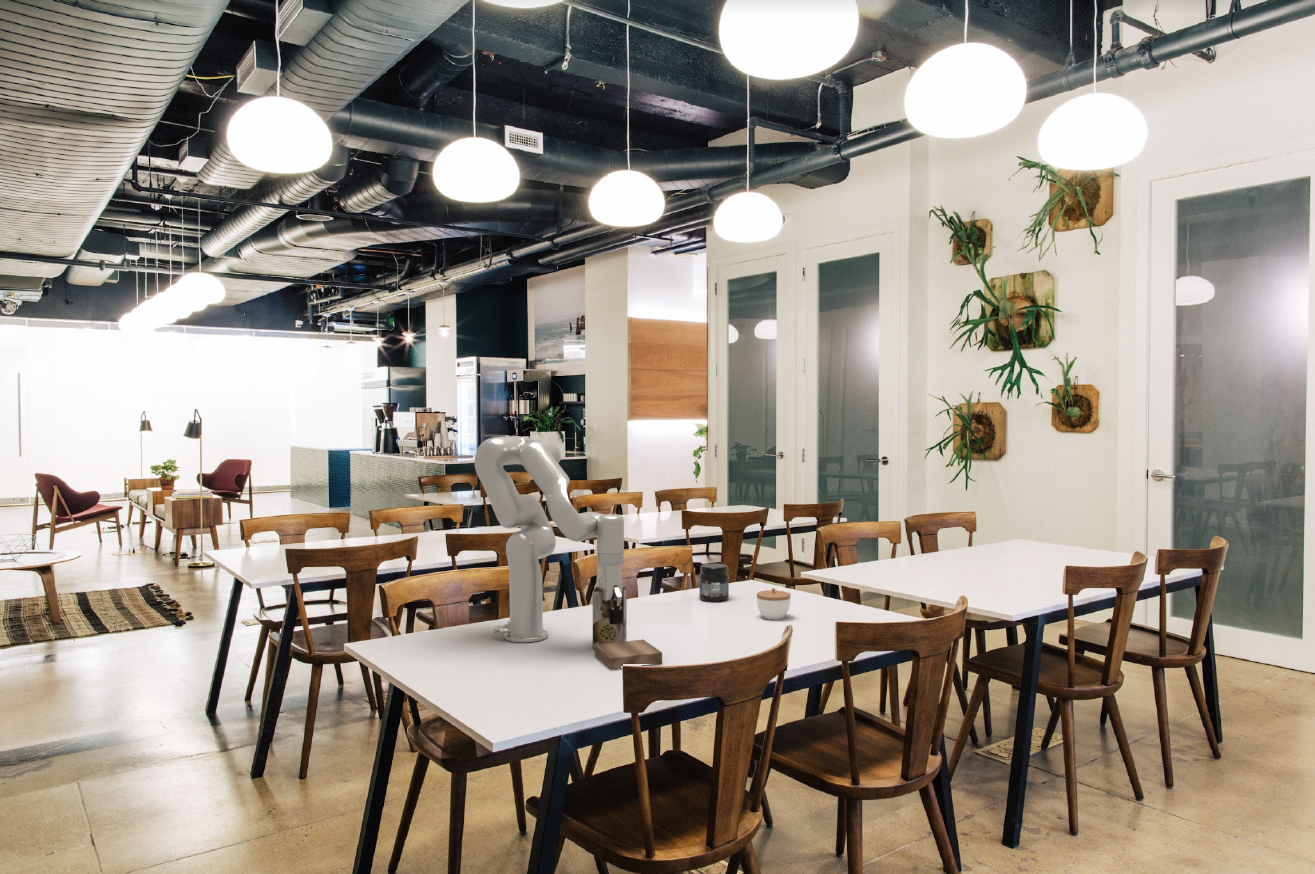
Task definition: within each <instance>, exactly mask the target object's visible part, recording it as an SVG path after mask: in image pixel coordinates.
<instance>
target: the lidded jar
mask: <svg viewBox="0 0 1315 874" xmlns="http://www.w3.org/2000/svg"><path fill="white" fill-rule="evenodd" d="M756 597H757V598H756V600H757V601H756V604H757V608H758V611H759V613H760V614H761V616H763V618H764V619H766V620H770V621H772V620H774V621H777V620H782V619H784V617H785V616H786V615H787V614H788V612H789V609H790V605H791V593H790V592H787V591H783V590H776V588H775V587H774V588H773V587H772V588H771V589H770V590H769V589H768V590H760V591H757V593H756Z"/></svg>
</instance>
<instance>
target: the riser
mask: <svg viewBox="0 0 1315 874" xmlns="http://www.w3.org/2000/svg"><path fill="white" fill-rule="evenodd" d="M594 656H595V657H596V658H597V659H598V660H599V661H600V662H602V663H603V664H604V665H605V666H606V667H607V666H608V667H607V668H608V669H610V670H611V671H614V670H613V669H615V670H622V669H621V666H623V664H657V665H662V664H663V652H662V651H661V650H660V649H658V648H657V647H656V646H654V645H652V644H651V643H649V642H648V641H647V640H645V639H637V640H635V639H633V640H627V641H625V642H615V643H606V644H597V645H595V648H594ZM618 668H620V669H618Z"/></svg>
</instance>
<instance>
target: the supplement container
mask: <svg viewBox="0 0 1315 874" xmlns="http://www.w3.org/2000/svg"><path fill="white" fill-rule="evenodd" d="M698 578H699V581H698V582H699V594H698V595H699V599H700V600H702V601H704V602H708V603H721V602H726V601H727V600H729V598H730V592H729V591H730V590H729V587H730V585H729V584H730V583H729V581H730V580H729V579H730V575H729V573H728V565H726V564H722V563H706V564H705V563H704V564H701V565H700V573H699V576H698Z"/></svg>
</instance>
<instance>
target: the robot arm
mask: <svg viewBox="0 0 1315 874" xmlns="http://www.w3.org/2000/svg"><path fill="white" fill-rule="evenodd" d="M561 456H562V455H561V451H560V448H559V447H558V445H557V444H556V443H554V442H553V441H550V440H546V439H545V440H544V439H536V438H530V437H524V436H517V435H516V436H515V435H514V436H512V435H511V436H495V437H490V438H487V439H485V440H484V441H483V442H481V443H480V445H479V446H478V448H477V449H476V452H475V455H474V468H475V473H476V475H477V477H478V479H479V480H480V483H481V484H482V487H483V488H484V490H485V491H484V492H485V493H486V495H487V498H488V501H489V502H490V505H491V507H492V510H493V512H494V514H495V518H496V519H497V521H498V523H499V524H500V525H501V526H502V527H503V528H505V529H516V528H520V530H518V531H516V532H514V533H513V534H511V535H510V537H509V538H508V540H507V542H506V545H505V552H506V553H505V554H506V559H507V563H508V564H507V565H508V575H509V576H508V580H509V620H508V621H506V622H507V623H505V624H504V625H495V626H493V633H494V634H497V633H499V634H500V635H502V634H504V639H505V640H506V641H509V642H513V643H532V642H539V641H543V640H545V639H547V638H548V636H549V631H548V630H546V629H543V626H544V623H543V621H544V619H543V616H544V615H543V611H544V610H543V608H544V605H543V573H542V568H541V565H540V562H539V560H541V559H544V558H546V557H548V556H551V554H552V553H553V552H554V551H555V549H556V543H557V542H556V535H555V533H554V530H553V528H552V525H551V524H550V521H549V519H548V517H547V514H546V512H545V510H544V508H543V506H542V504H541V503H540V501H539V500H538V499H537V498H536V497H535V496H533V495H531V494H528V493H527V494H526V493H524V494H520V493H519V491H518V490H517V487H516V485H515V483H514V480H513V479H512V477H511V476H510V475H509V473H508V472H507V471H506V470H505V469H504V466H509V465H521V466H523V468H524V469H525V471H526V472H527V473H528V474H529V476H530V477H531V478H532V479H533V481H534V482H535V484H536V485H537V487H538V488H539V489H540V491H542V493H543V495H544V496H545V501H546V503H545V504H546V506H547V510H548V513H549V516H550V518H551V519H552V521H553V522H554V524H555V525H556V527H557V528H558V529H559V530H560V532H561V533H562V534H563V535H564V536H565V537H566V538H567V539H568V540H569V541H572V542H576V543H577V542H578V543H579V542H582V541H586V540H591V539H594V538H596V564H597V570H596V571H597V572H596V586H595V587H598V588H599V589H600V590H602V591H603V600H604V601H608V600H609V602H610V607H611V610H610V616H609V623H610V624H620V623H621V603H622V602H621V601H622V587H623V570H622V565H624V564H625V559H624V558H625V519H624V517H623V516H622V515H621V514H617V513H616V514H615V513H606V514H604V513H599V512H596V511H587V512H581V513H578V511H577V510H576V509H575V506H573V504H572V503H571V501H570V498H569V496H568V487H569V485H570V481H571V480H570V477H569V476H568V474H567V473H566V472H565V471H564V469H563V468H562V467H561V465H560V464H559V463H560V462H561ZM613 591H614V594H615V596H616V598H611V597H612V595H613ZM613 602H614V605H613Z"/></svg>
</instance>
